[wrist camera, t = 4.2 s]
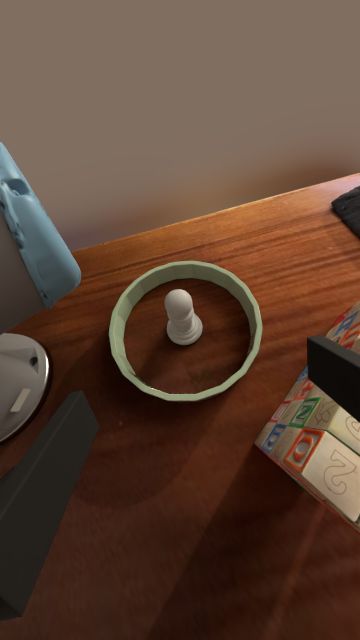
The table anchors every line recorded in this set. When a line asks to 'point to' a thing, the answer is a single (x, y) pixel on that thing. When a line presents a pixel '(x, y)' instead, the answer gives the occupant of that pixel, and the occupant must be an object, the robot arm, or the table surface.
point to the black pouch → (349, 209)
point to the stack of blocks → (320, 436)
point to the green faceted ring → (167, 274)
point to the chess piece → (182, 318)
